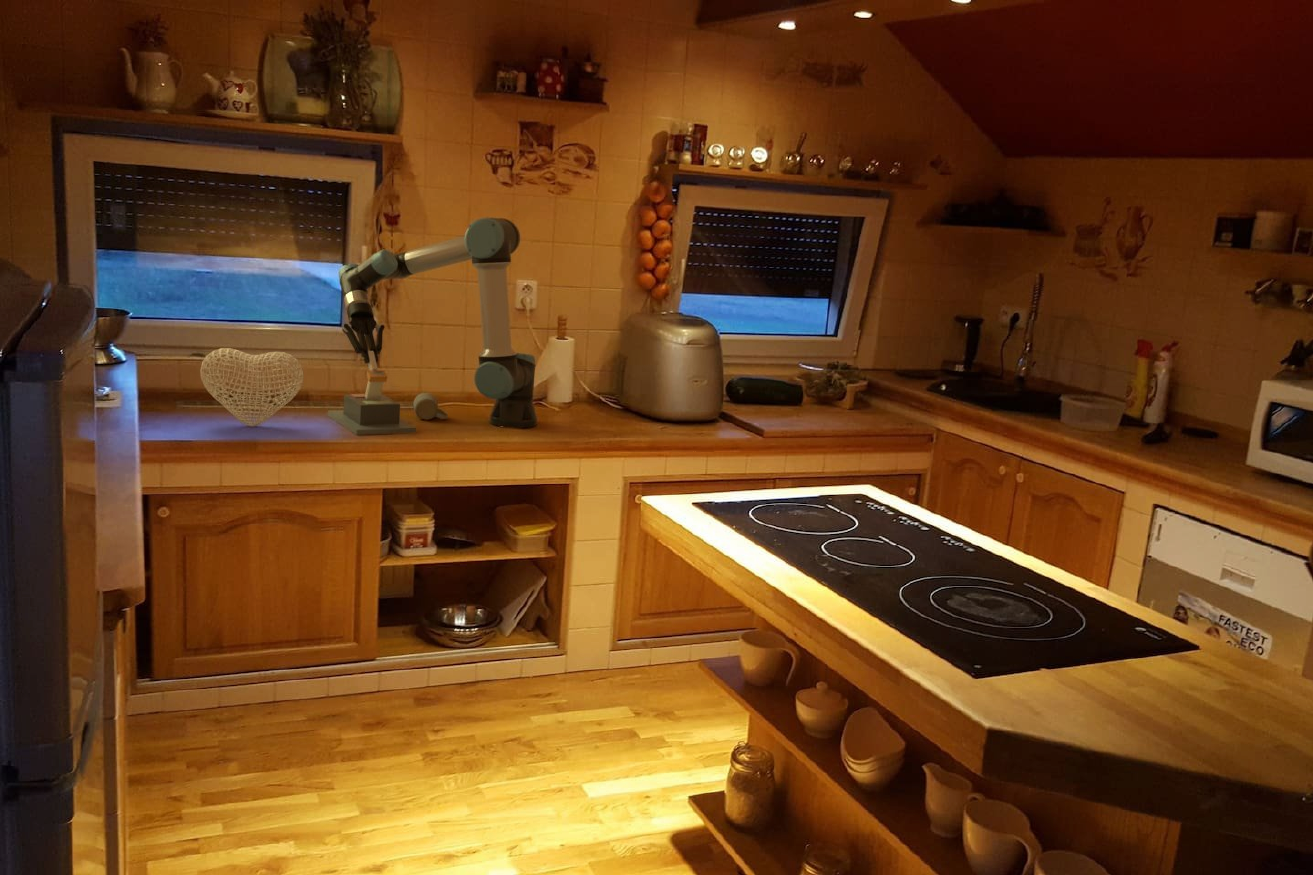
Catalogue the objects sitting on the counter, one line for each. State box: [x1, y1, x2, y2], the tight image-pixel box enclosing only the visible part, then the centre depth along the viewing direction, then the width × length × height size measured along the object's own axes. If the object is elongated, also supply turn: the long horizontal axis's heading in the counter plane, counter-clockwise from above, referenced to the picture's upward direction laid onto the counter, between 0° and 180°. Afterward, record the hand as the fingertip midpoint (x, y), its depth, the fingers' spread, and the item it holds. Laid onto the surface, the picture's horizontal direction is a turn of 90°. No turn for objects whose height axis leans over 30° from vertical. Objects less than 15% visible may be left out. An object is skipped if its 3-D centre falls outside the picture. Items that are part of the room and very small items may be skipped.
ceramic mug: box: [413, 392, 448, 421], centre depth 347 cm, size 11×8×8 cm
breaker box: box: [327, 393, 417, 436], centre depth 331 cm, size 28×18×8 cm, turn 33°
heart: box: [199, 347, 304, 428], centre depth 313 cm, size 28×16×22 cm, turn 96°
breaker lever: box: [364, 369, 388, 400], centre depth 328 cm, size 3×5×9 cm, turn 123°
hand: (373, 371), depth 327 cm, fingers closed
